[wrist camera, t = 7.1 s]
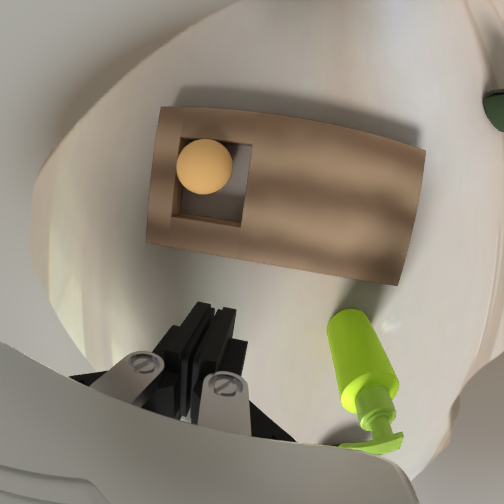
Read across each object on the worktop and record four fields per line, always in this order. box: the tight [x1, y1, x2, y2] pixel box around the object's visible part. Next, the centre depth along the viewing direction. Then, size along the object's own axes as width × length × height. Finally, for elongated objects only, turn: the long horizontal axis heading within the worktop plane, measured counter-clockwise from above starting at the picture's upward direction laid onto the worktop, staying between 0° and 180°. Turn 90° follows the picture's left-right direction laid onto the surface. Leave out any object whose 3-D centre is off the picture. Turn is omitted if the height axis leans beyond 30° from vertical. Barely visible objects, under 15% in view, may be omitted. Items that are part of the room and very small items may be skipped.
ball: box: [176, 139, 233, 194], centre depth 29 cm, size 6×6×6 cm
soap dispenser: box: [327, 309, 404, 455], centre depth 26 cm, size 6×7×20 cm
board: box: [146, 107, 426, 286], centre depth 30 cm, size 16×30×3 cm, turn 82°
